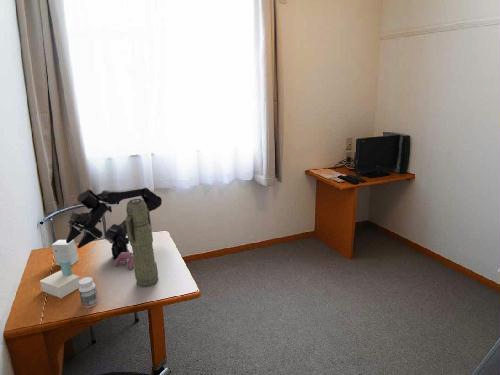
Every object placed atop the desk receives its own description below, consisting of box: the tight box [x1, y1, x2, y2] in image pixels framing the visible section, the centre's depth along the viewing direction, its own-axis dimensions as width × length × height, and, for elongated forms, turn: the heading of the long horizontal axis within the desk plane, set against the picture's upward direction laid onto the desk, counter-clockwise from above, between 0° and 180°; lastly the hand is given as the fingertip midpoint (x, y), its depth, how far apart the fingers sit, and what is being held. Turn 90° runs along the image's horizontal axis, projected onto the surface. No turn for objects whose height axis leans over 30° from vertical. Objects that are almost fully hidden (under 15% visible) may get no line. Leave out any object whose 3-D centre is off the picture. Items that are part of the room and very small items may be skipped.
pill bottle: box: [78, 276, 99, 309], centre depth 130 cm, size 6×6×10 cm
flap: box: [39, 259, 81, 289], centre depth 140 cm, size 9×12×7 cm
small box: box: [51, 239, 79, 266], centre depth 162 cm, size 8×6×10 cm
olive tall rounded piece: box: [124, 198, 159, 288], centre depth 139 cm, size 9×12×35 cm
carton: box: [39, 278, 81, 299], centre depth 142 cm, size 9×12×4 cm
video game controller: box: [114, 251, 135, 270], centre depth 158 cm, size 10×5×7 cm, turn 65°
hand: (72, 245), depth 148 cm, fingers open, 9 cm apart
